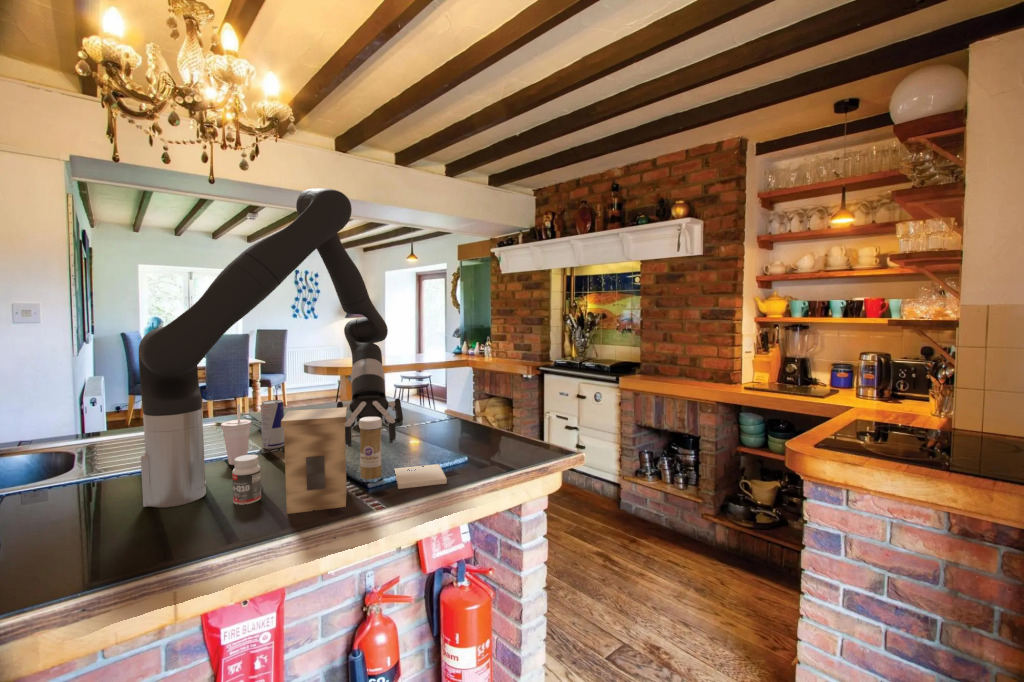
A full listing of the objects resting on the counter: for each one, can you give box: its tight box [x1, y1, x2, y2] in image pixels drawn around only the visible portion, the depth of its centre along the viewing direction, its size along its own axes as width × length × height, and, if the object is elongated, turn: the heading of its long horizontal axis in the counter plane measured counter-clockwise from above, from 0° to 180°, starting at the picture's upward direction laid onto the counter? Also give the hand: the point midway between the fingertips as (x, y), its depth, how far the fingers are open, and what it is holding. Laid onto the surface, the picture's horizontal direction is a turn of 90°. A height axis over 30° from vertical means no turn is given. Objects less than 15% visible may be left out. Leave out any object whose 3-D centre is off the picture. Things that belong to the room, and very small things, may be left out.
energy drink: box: [260, 399, 285, 450], centre depth 128 cm, size 5×5×12 cm
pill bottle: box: [231, 454, 262, 506], centre depth 92 cm, size 5×5×8 cm
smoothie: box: [220, 403, 252, 466], centre depth 114 cm, size 6×6×14 cm
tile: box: [393, 463, 448, 490], centre depth 104 cm, size 10×10×1 cm
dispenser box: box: [281, 407, 348, 515], centre depth 91 cm, size 11×9×17 cm
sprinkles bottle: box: [358, 417, 383, 479], centre depth 103 cm, size 5×5×14 cm
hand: (370, 443), depth 103 cm, fingers open, 8 cm apart
